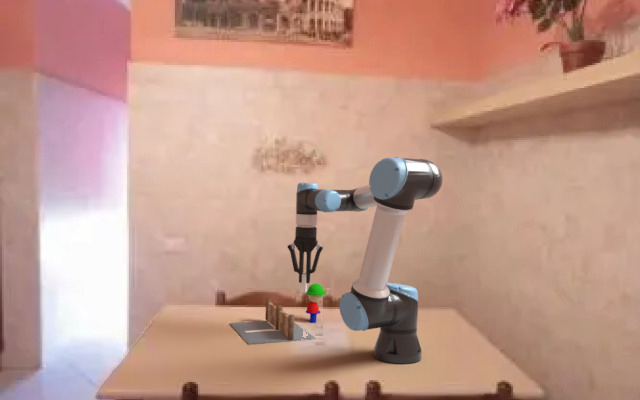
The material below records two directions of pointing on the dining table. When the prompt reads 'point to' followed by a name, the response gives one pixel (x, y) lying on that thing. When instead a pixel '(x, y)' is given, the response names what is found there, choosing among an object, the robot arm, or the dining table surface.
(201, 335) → the dining table surface
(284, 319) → the fence panel
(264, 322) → the mat
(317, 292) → the toy
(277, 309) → the fence fixed
